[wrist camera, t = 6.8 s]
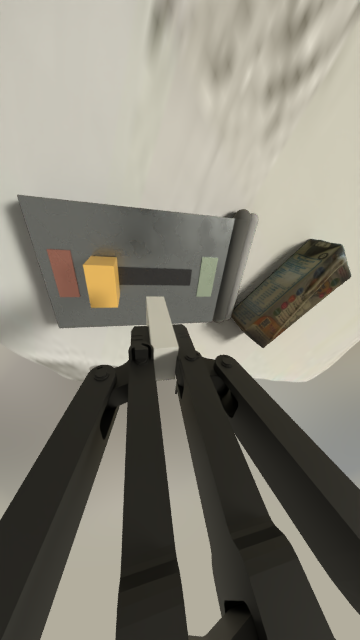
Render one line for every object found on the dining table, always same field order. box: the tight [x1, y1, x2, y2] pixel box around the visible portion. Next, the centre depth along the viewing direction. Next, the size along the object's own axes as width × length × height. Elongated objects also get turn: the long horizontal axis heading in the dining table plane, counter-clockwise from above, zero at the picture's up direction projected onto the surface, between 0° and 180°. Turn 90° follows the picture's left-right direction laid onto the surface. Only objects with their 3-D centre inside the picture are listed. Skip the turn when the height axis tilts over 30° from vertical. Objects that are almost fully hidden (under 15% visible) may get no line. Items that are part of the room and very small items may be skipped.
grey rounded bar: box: [213, 209, 258, 323], centre depth 29 cm, size 18×4×2 cm, turn 175°
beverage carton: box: [231, 239, 351, 348], centre depth 32 cm, size 8×19×7 cm, turn 136°
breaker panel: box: [17, 195, 235, 328], centre depth 26 cm, size 16×24×3 cm, turn 85°
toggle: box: [83, 256, 120, 308], centre depth 21 cm, size 5×3×4 cm, turn 175°
